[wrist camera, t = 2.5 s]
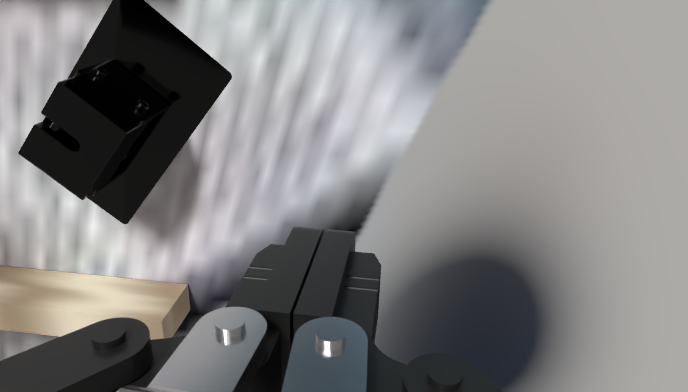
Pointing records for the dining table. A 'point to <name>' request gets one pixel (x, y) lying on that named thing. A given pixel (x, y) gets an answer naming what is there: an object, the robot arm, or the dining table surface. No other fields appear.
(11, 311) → the frame
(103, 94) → the black angular block
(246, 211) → the dining table surface
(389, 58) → the dining table surface
